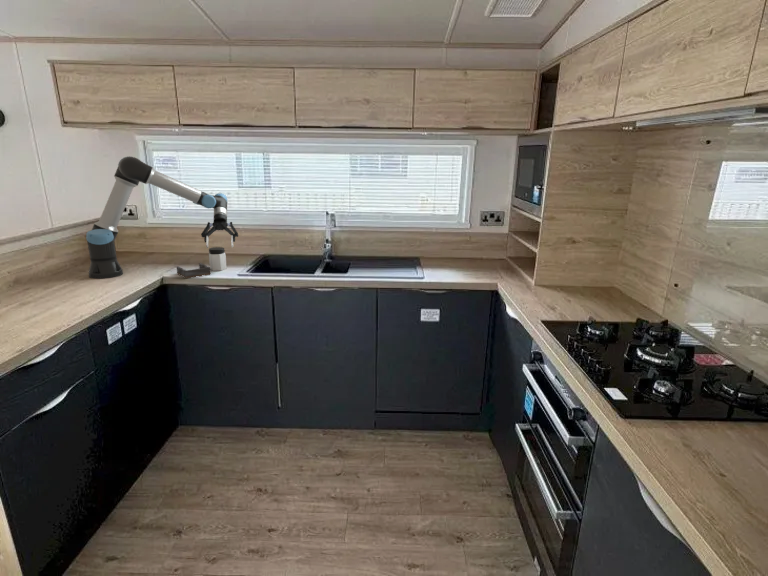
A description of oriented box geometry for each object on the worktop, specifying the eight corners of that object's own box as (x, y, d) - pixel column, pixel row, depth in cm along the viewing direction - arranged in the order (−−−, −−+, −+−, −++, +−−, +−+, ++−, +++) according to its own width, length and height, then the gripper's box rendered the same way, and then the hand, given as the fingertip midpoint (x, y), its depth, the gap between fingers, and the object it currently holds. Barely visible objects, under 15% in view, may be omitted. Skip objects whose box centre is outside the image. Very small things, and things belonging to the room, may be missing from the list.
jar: (228, 269, 242) (226, 248, 239) (213, 271, 238) (211, 250, 234) (222, 266, 249) (221, 246, 246) (208, 268, 244) (206, 247, 241)
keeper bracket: (177, 273, 232) (176, 266, 231) (201, 270, 241) (200, 263, 240) (186, 278, 223) (185, 271, 222) (210, 274, 232) (210, 267, 231)
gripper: (242, 220, 263) (243, 249, 253) (199, 220, 257) (197, 250, 247) (241, 212, 256) (241, 241, 246) (196, 212, 250) (195, 243, 241)
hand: (219, 246), depth 247 cm, fingers open, 13 cm apart
